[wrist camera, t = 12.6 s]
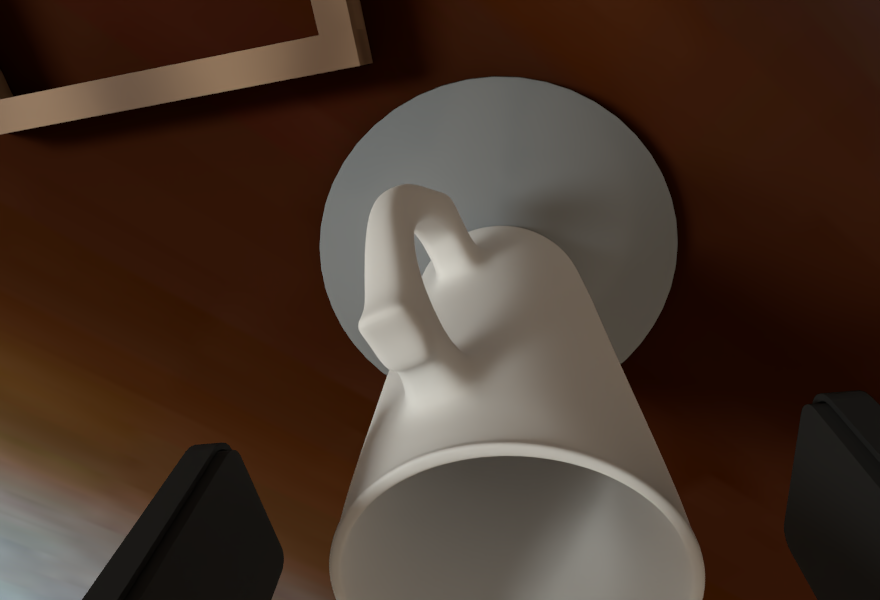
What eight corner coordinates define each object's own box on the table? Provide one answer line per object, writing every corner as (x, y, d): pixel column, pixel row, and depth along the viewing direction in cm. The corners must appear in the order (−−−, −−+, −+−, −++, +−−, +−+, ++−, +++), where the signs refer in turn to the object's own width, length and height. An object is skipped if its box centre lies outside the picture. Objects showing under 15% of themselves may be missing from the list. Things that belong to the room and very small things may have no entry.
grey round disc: (673, 41, 17) (679, 41, 16) (671, 386, 22) (676, 395, 22) (281, 112, 19) (275, 114, 18) (367, 414, 24) (364, 423, 24)
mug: (614, 344, 21) (745, 667, 10) (456, 398, 23) (427, 723, 12) (516, 93, 17) (560, 184, 7) (336, 179, 19) (140, 364, 8)
